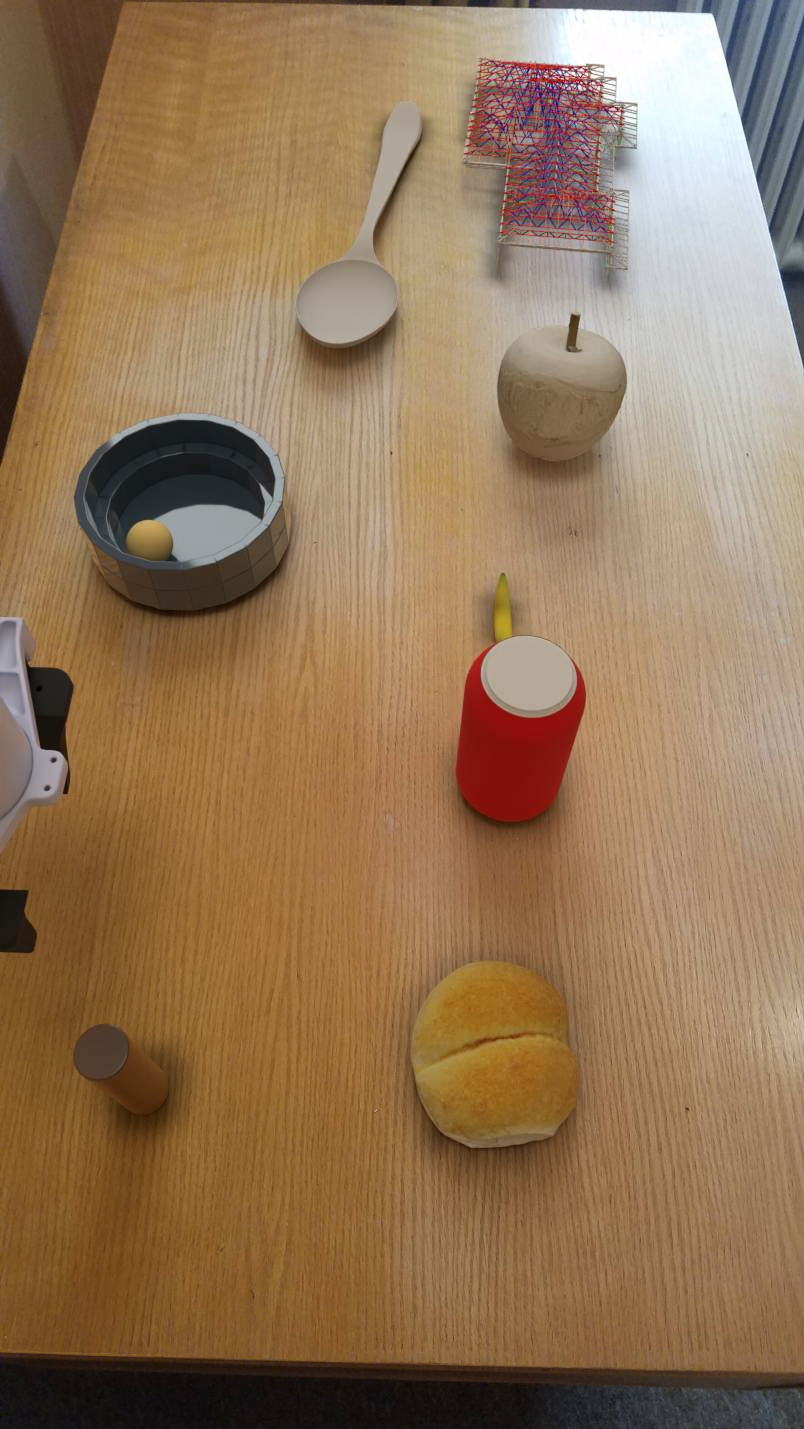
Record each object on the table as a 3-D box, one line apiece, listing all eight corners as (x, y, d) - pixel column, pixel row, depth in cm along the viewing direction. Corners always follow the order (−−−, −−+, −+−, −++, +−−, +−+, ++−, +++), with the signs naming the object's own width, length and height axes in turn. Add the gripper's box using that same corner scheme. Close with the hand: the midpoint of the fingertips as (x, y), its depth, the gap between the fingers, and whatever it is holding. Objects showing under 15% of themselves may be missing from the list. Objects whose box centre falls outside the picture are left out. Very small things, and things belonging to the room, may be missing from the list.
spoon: (381, 376, 77) (382, 348, 75) (280, 362, 78) (278, 333, 76) (449, 134, 96) (451, 105, 94) (366, 124, 97) (366, 95, 94)
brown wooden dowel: (117, 1114, 51) (67, 1079, 43) (125, 1064, 52) (78, 1022, 44) (165, 1115, 51) (124, 1081, 43) (172, 1066, 52) (133, 1024, 44)
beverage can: (524, 721, 63) (549, 604, 52) (578, 802, 60) (616, 696, 49) (436, 761, 61) (444, 649, 51) (487, 846, 58) (507, 747, 48)
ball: (172, 525, 68) (149, 563, 69) (134, 505, 66) (111, 544, 67) (188, 542, 66) (164, 580, 67) (150, 521, 64) (126, 561, 65)
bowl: (77, 615, 66) (55, 567, 62) (112, 463, 73) (95, 410, 69) (282, 620, 66) (274, 572, 62) (298, 467, 73) (292, 415, 69)
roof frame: (630, 294, 83) (644, 236, 78) (445, 278, 84) (448, 220, 79) (634, 91, 98) (645, 33, 93) (477, 80, 99) (481, 21, 94)
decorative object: (513, 496, 72) (529, 385, 63) (476, 410, 76) (486, 295, 67) (630, 471, 73) (661, 359, 64) (587, 388, 77) (610, 273, 69)
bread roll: (551, 961, 55) (562, 937, 52) (586, 1138, 51) (600, 1125, 47) (400, 978, 54) (400, 956, 51) (421, 1158, 50) (423, 1147, 47)
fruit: (492, 586, 68) (496, 557, 65) (509, 586, 68) (514, 558, 65) (494, 675, 64) (498, 648, 62) (512, 675, 64) (517, 648, 62)
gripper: (-27, 920, 31) (89, 1026, 43) (65, 550, 38) (142, 727, 50) (-255, 914, 31) (-77, 1021, 43) (-120, 546, 39) (0, 723, 50)
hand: (31, 862), depth 47 cm, fingers open, 7 cm apart
